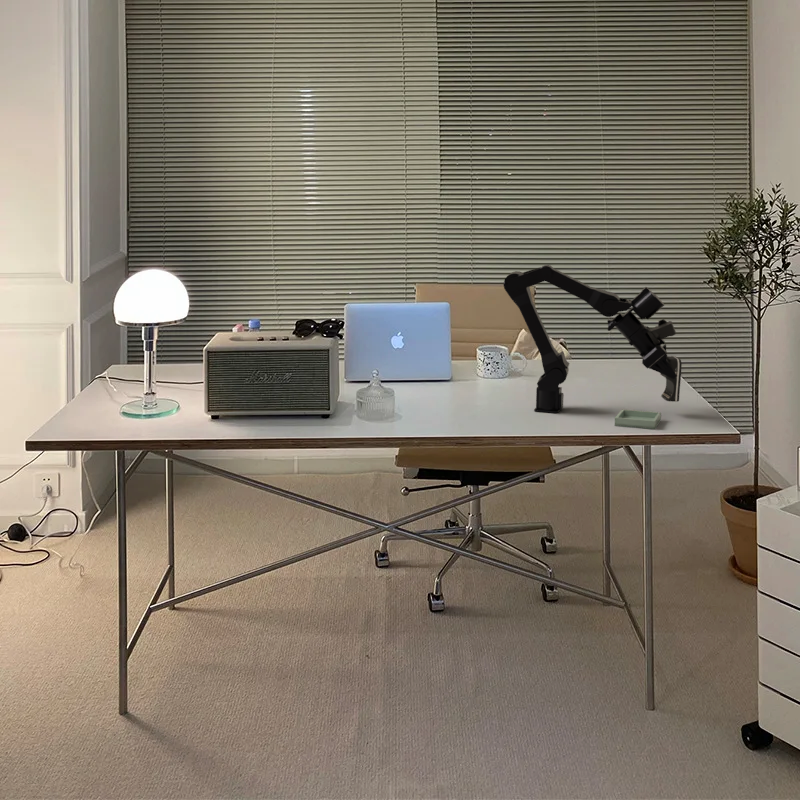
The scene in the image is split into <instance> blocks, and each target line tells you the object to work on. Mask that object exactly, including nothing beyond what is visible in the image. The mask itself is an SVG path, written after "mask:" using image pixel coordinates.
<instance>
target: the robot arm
mask: <svg viewBox="0 0 800 800" xmlns="http://www.w3.org/2000/svg"><path fill="white" fill-rule="evenodd" d="M504 278H505V279H504V280H503V289H504V290H505V293H507V295H508V296H509V298H510V299H511V300H512V302H513V303H514V304H515V305H516V306H517V308H518V309H519V311H520V313H521V315H522V317H523V320H524V321H525V324H526V326H527V328H528V331H529V332H530V335H531V337H532V339H533V341H534V344H535V346H536V348H537V350H538V352H539V355H540V358H541V363H542V368H543V371H544V372H543V373H542V375H540V377H539V379H538V381H537V383H536V385H537V387H536V393H535V394H536V395H535V396H536V399H535V408H534V409H533V411H534V412H542V413H553V414H554V413H555V414H558V413H559V412H560V411H561V410H563V408H564V393H563V391H562V389H563V387H562V386H560V385H561V384H563V383H564V382H565V381H566V380H567V376H568V375H569V366H570V362H569V361H568V360H567V359H566V356H565V352H564V350H562V351H559V352H558V350H556V349H555V347H554V345H553V342H552V340H551V339H550V336H549V333H548V332H547V330H546V328H545V325H544V323H543V321H542V319H541V317H540V314H539V313H538V309H537V308H536V306H535V304H534V302H533V297H532V291H531V288H530V287H532V286H536V285H537V284H540V283H544V282H546V283H549V284H550V285H553V286H555V287H557V288H559V289H561V290H562V291H564V292H566V293H568V294H570V295H573V296H574V297H576V298H578V299H581V300H582V301H584V302H585V303H587V304H588V305H589V306H590V307H591V308H593V310H595V311H597V312H598V313H599V314H601V315H602V316H603V317H607V318H609V319H607V331H608V332H610V331H611V330H613V329H614V328H615V329H616V330H617V331H618V332H619V333H621V335H622V336H623V337H624V338H625V339H626V340H627V342H628V344H629V345H630V346H631V347H632V346H633V348H634V349H635V350H636V351H637V352H638V353H639V355H640V357H641V358H642V359H641V360H642V361H641V362H642V363H641V364H642V365H643V366H644V367H645V368H646V369H649V370H652V371H654V372H658V373H659V374H660V373H662V374H664V375H666V376H668V377H670V378H673V379H675V378H676V377H677V375H676V373H675V372H674V370H673V369H672V367H671V366H670V364H669V363H668V361H667V356H668V351H667V344H666V341H665V340H664V339H667V338H668V337H673V336H675V335H677V331H676V329H675V327H674V323H673V321H671V320H669V321H667V320H666V319H665V318H661V319H660V320H658V322H657V325H656V326H655V327H653V328H650V327H649V326H648V325H645V324H643V323H642V321H640V319H641V320H645V319H646V320H650V319H651V318H652V317H653V316H654V315H655V314H656V313H658V312H659V311H660V310H661V309H663V307H665V303H664V302H663V301H662V299H660V297H659V296H658V295H657V294H656V293H654V292H653V291H652V290H651V289H649V287H647V286H645V287H644V288H642V290H641V291H640V292H639V293H638V294H637V295H636V296H635V297H634V298H632V299H628V298H624V297H619V295H618V294H616V293H614V292H611V291H608V290H605V289H601V288H595V287H592V286H590V285H588V284H586V283H584V282H581V281H580V280H578V279H576V278H574V277H572V276H570V275H569V274H566V273H564V272H562V271H561V270H558V269H557V268H555V267H553V266H552V265H550V264H544V265H542V266H540V267H537V268H533V269H530V270H526V271H524V272H522V271H518V270H515V271H513V272H510V273H509V274H508V275H507V276H506V277H504ZM622 312H625V313H624V314H623V313H622ZM634 313H635V314H636V315H635V314H634ZM613 316H614V317H613ZM610 317H613V318H612V319H610ZM638 317H639V318H640V319H639V318H638Z"/></svg>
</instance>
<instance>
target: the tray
mask: <svg viewBox="0 0 800 800" xmlns="http://www.w3.org/2000/svg"><path fill="white" fill-rule="evenodd" d="M661 419H662V413H661V412H659V411H657V412H656V411H647V410H646V411H645V410H635V409H633V410H632V409H621V410H620V411H619V412H618V414H617V415H616V416H615V417H614V426H615V427H623V428H636V429H648V430H656V428H657V426H658V425H659V424H660V422H661V421H660V420H661Z"/></svg>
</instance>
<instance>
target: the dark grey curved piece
mask: <svg viewBox="0 0 800 800" xmlns="http://www.w3.org/2000/svg"><path fill="white" fill-rule="evenodd" d="M667 361H668V363H669V364H670V366H671V367H672V369H673V370H674V372H675V373H676V375H677V377H676V378H675V379H673V378H670V377H668V376H666V375H664V374H662V373H659V374H660V375H661V376H662V377H663V378H665V382H666V383H665V389H664V391H663V393H662V394H661V396H660V397H661V398H662V399H663V400H665V401H666V402H672V403H677V402H679V401H680V389H681V382H682V380H681V378H682V360H681V358H679V357H677V356H675V355H671V356H668V355H667Z"/></svg>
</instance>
